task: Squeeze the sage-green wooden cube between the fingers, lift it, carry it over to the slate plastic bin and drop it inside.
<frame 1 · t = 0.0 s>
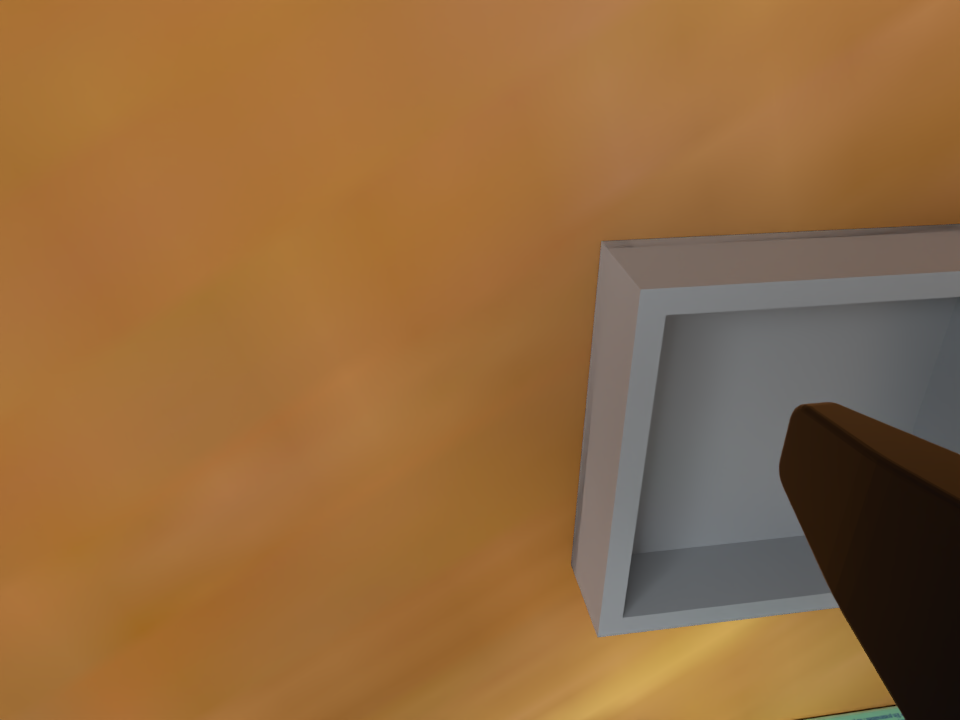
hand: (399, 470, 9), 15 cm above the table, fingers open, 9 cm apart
slate bin: (763, 407, 28), on the table
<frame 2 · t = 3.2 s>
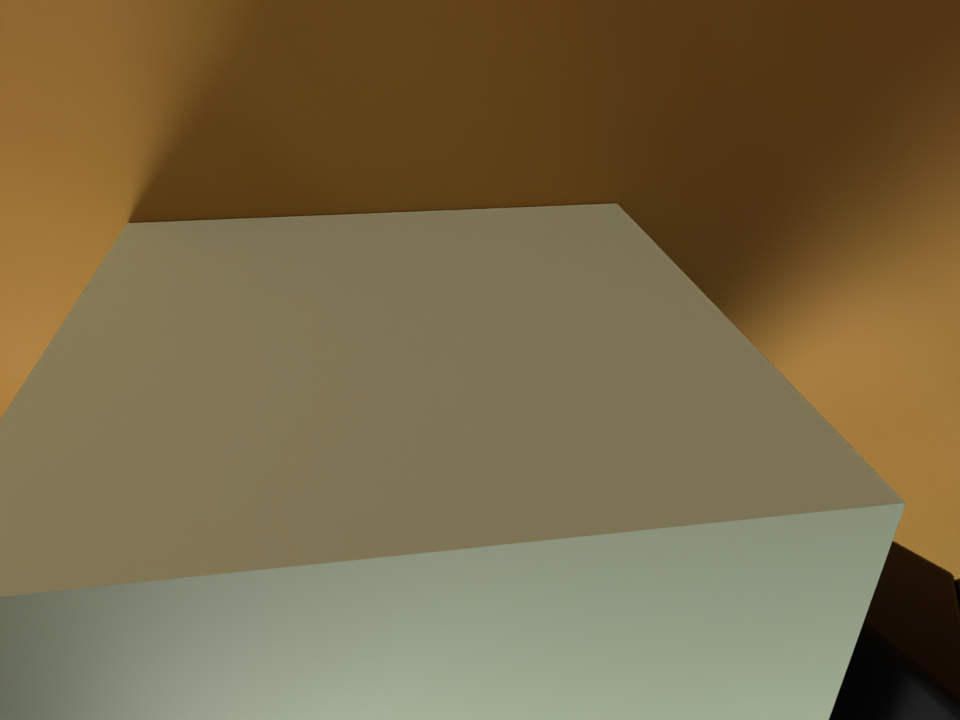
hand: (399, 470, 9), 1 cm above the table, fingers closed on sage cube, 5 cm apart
sage cube: (392, 416, 9), on the table, touching gripper
when the fingers open (4 cm above the table, at t = 6.6 s): sage cube drops 3 cm, resting on slate bin.
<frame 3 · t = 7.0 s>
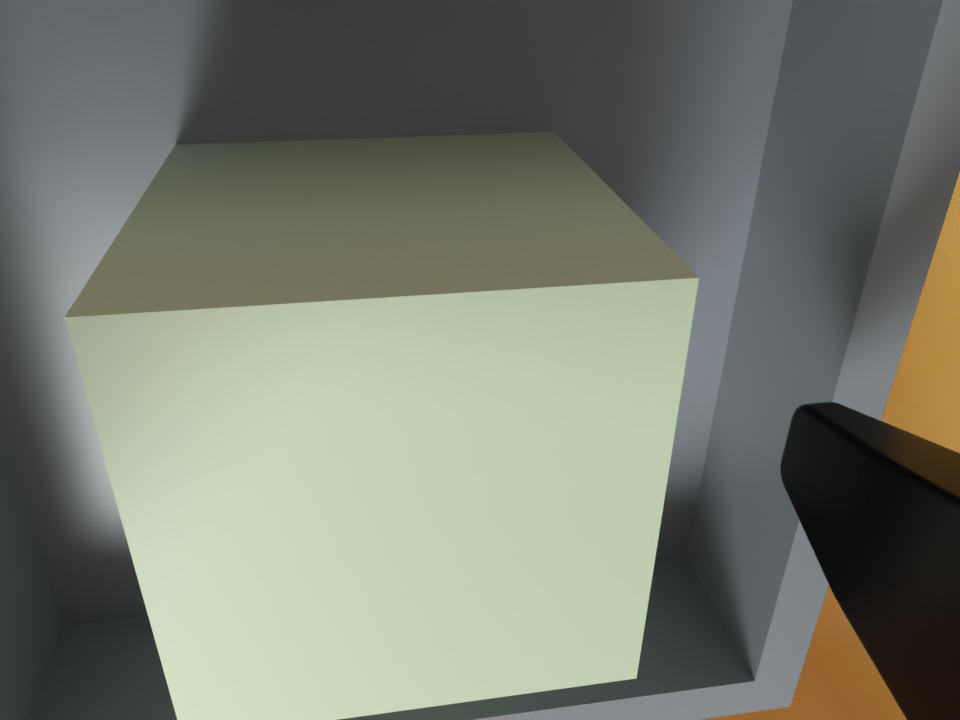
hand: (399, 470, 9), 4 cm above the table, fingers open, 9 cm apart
sage cube: (381, 307, 12), point 1 cm above the table, touching slate bin
slate bin: (375, 293, 12), on the table
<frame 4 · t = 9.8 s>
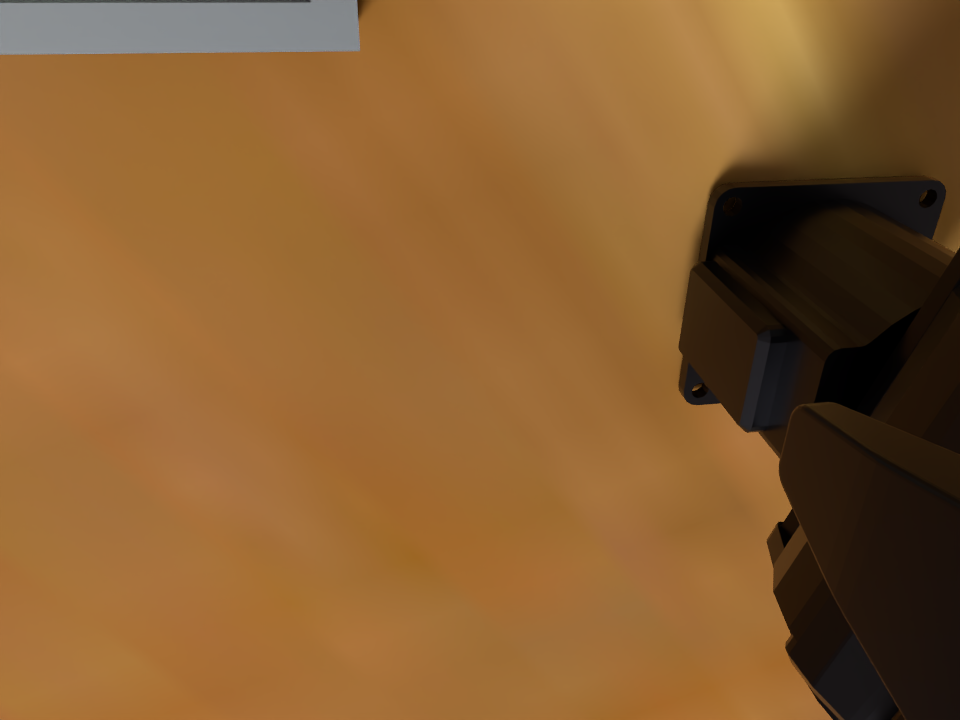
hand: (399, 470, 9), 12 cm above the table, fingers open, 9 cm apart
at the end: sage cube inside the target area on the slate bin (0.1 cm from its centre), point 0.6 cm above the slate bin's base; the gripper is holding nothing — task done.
